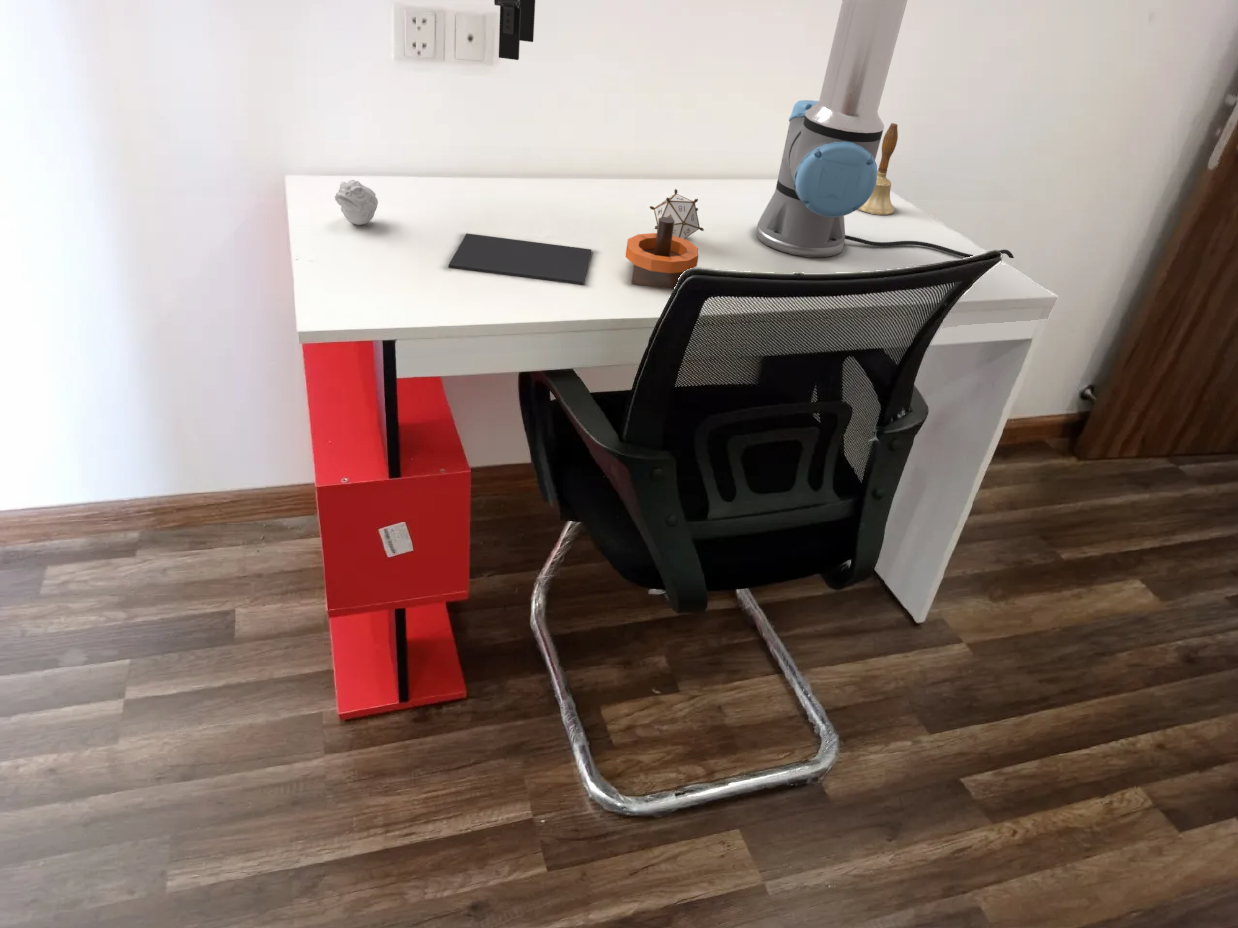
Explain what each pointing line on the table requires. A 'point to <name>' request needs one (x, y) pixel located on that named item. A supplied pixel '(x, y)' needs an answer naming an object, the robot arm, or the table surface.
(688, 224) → the game die
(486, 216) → the table surface
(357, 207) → the frog figurine
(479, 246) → the mat
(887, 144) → the hand bell
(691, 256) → the ring
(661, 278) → the post
